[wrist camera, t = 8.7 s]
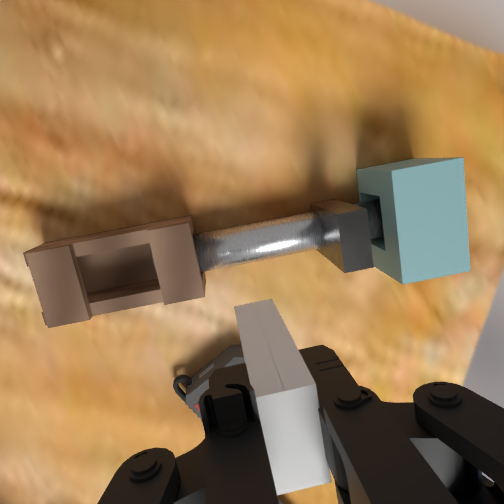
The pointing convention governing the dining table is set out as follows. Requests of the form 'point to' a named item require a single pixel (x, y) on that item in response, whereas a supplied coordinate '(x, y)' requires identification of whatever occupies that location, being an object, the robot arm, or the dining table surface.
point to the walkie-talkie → (207, 379)
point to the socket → (419, 217)
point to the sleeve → (116, 270)
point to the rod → (298, 237)
